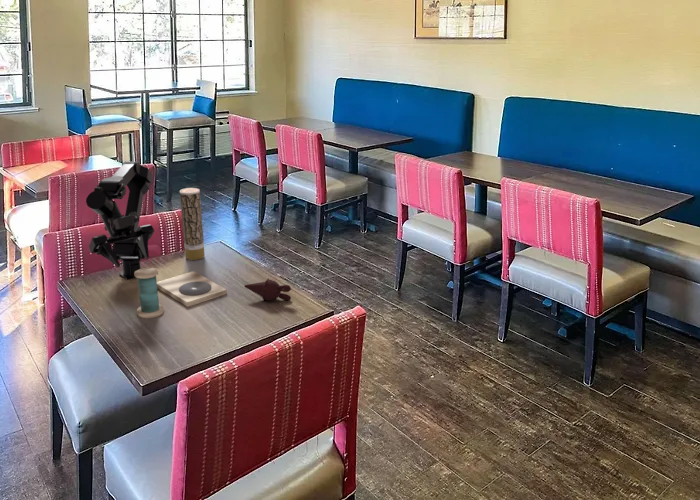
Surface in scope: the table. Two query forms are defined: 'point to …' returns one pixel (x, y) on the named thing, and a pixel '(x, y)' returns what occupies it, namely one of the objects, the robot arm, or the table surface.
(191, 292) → the stand board
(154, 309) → the bobbin
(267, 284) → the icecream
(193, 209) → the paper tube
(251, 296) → the table surface
